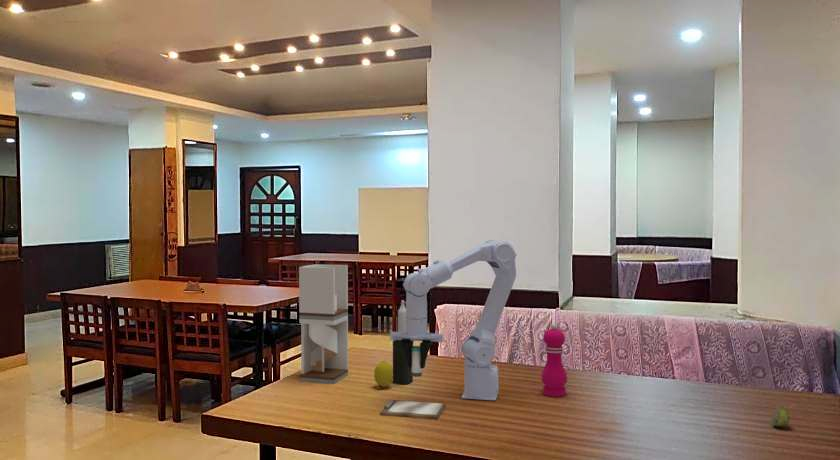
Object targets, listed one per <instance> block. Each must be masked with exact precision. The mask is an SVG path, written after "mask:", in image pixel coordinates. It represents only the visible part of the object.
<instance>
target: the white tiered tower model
mask: <svg viewBox="0 0 840 460" xmlns="http://www.w3.org/2000/svg"><path fill="white" fill-rule="evenodd" d="M348 266H349V265H348V264H310V265H303V266H299V267H298V287H299V289H298V290H299V291H298V299H299V300H298V303H299V304H298V307H299V309H298V310H299V311H298V312H299V315H298V317H299V321H298V322H299V324H300V325H301V326H300V331H301V332H300V333H301V335H300V338H301V339H300V340H301V341H300V342H301V346H300V349H301V350H300V351H301V352H300V353H301V354H300V355H301V357H300V358H301V363H300V364H301V371H300V372H301V373H300V374H299V382H304V383H317V384H328V385H329V384H330V385H335V384H337V383H338V382H340V381H341V380H343V379H345V378H346V377H348V376H349V304H348V303H349V291H348V289H349V288H348V287H349V286H348V285H349V282H348V281H349V279H348V278H349V275H348V274H349V273H348V272H349V271H348V270H349V269H348V268H349V267H348Z"/></svg>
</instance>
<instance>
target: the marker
mask: <svg viewBox="0 0 840 460" xmlns="http://www.w3.org/2000/svg"><path fill="white" fill-rule="evenodd" d="M411 353H412V376H413V378H414V377H415V378H416V377H422V376H423V368H421V351H420V345H413V346H412V347H411Z"/></svg>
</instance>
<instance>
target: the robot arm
mask: <svg viewBox="0 0 840 460" xmlns="http://www.w3.org/2000/svg"><path fill="white" fill-rule="evenodd" d="M516 257H517V253H516V251H515V249H514V247H513V246H512V244H511V243H510V242H507V241H497V240H495V239H494V240H492V239H489V240H486V241H485V242H482V243H479V244H477V245H475V246H473V247H472V248H470V249H468V250H466V251H465V252H463V253H461V254H459V255H457V256H456V257H454V258H452V259H450V260H449V261H446V260H443V259H440V260H439V259H436V260H434V261H432V264H431V265H429V266H427V267H425V268H418V269H417V271H418V272H412V273H409V274H407V276H406V277H405V278H404V282H403V283H402V286H403V288H404V291H405V294H406V296H405V297H406V298H405V299H406V300H405V308H406V332H398V331H391V332H390V333H389V339H390V341H394V340H402V341H401V347H402V349H403V350H404V353H405V355H406V358H407V362H408V367H409V368H411V367H412V353H411V347H412V346H414V341H415V342H416V341H417V342H420V343H419V346H420V351H421V368H422V369H425V367H426V361H427V358H428V354H429V351H430V350H431V347H432V345H433V342H435V343H443V342H444V333H434V332H428V300H427V299H428V297H427V294H428V293H429V291H430V289H433V288H434V287H435V288H436V287H438V286H439V285H441V284H443V283H444V282H447V281H449V280H450V279H452V277H453V274H454V272H457V271H459V270H461V269H463V268H466V267H469V266H470V265H473V264H475V263H476V262H486V263H487V264H488V265H489V266H490V267H491V268H492V271H493V274H494V275H495V277H494V280H493V282H492V286H491V288H490V290H489V293H488V295H487V298H486V301H485V303H484V306H483V309H482V311H481V314H480V317H479V320H478V322H477V324H476V326H475V328H474V329H472V330H471V332H470V333H469V336H468V337H467V338H466V339H465V340H464V341H463V343H462V345H461V353H462V355H463V356H464V357H465V360H464V390H463V393H462V395H461V399H468V400H482V401H483V400H484V401H497V397H498V395H499V391H500V389H499V388H500V387H499V366H498V365H497V364H496V365H495V364H491V363H492V362H493V360H494V357H495V346H496V338H495V333H496V330H497V327H498V325H499V323H500V319H501V317H502V315H503V312H504V309H505V306H506V303H507V301H508V299H509V296H510V294H511V290H512V288H513V285H514V283H515V280H516V278H517V269H516Z"/></svg>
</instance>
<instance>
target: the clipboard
mask: <svg viewBox="0 0 840 460" xmlns="http://www.w3.org/2000/svg"><path fill="white" fill-rule="evenodd" d="M446 407H447V403H441V402H427V401H425V402H424V401H413V400H411V401H410V400H398V399H397V400H396V399H391V400H390V399H389V400H388V401H387V402H386V403H385V404H384V406H383V409H381V410H380V412H379V415H380V416H388V417H400V418H401V417H402V418H403V417H404V418H416V419H429V420H438V419H439V418H440V416H441V415H442V413H443V411H444V410H445V408H446Z"/></svg>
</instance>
